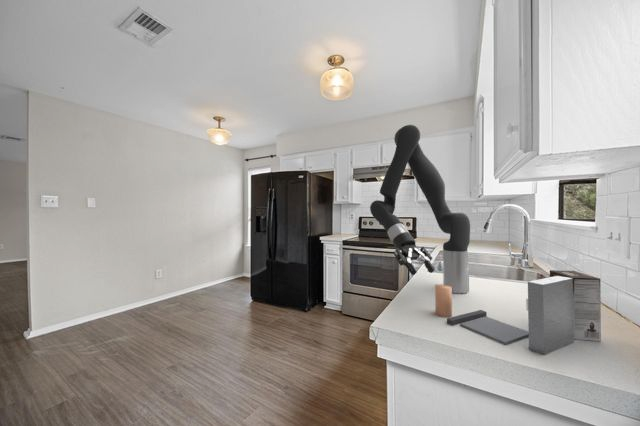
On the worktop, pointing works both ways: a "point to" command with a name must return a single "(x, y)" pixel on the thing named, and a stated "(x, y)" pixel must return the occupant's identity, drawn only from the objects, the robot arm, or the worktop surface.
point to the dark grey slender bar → (466, 317)
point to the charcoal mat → (496, 330)
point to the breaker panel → (550, 314)
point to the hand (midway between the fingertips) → (423, 272)
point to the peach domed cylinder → (443, 300)
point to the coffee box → (585, 304)
